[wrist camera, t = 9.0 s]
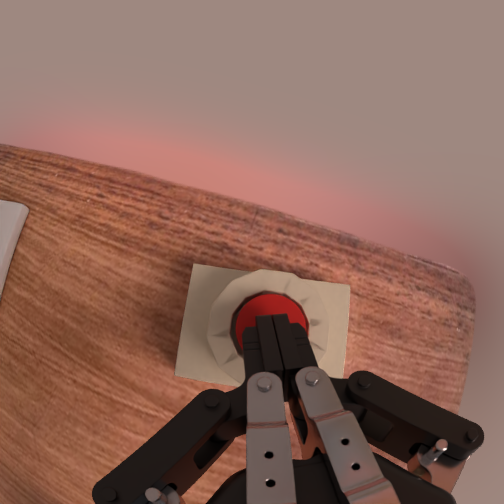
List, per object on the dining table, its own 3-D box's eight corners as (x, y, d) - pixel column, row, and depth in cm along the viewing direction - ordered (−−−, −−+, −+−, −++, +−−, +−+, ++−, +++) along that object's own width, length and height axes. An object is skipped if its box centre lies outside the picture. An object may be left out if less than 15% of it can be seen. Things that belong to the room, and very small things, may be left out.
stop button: (302, 303, 16) (309, 298, 15) (295, 365, 15) (301, 366, 14) (240, 295, 16) (240, 289, 15) (231, 357, 15) (230, 358, 14)
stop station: (339, 292, 20) (361, 277, 16) (329, 390, 17) (351, 398, 14) (198, 272, 20) (188, 253, 16) (181, 373, 17) (166, 378, 14)
